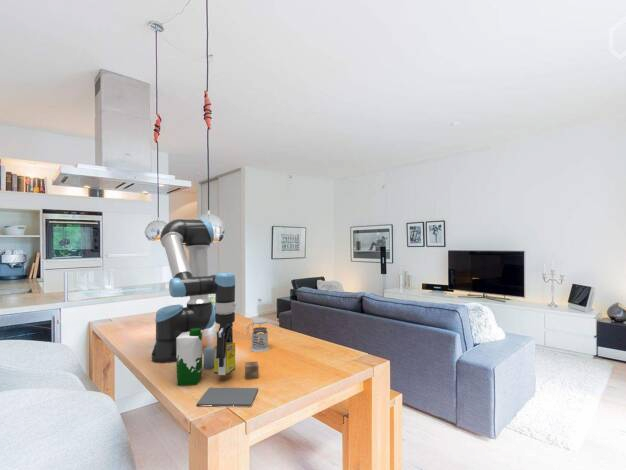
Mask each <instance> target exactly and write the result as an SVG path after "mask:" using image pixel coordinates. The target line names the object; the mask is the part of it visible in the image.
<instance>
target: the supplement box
mask: <svg viewBox="0 0 626 470" xmlns="http://www.w3.org/2000/svg"><path fill="white" fill-rule="evenodd" d="M213 347H214V370H213V372H214V374H216V375H218V358H216V350H217V344H215V345H214V346H213ZM225 357H226V374H225V375H224V376H228V375H230V374H231V373H232V372H234V371H235V370H236V342H233V343H231V342H226V350H225Z"/></svg>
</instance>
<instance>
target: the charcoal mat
mask: <svg viewBox="0 0 626 470" xmlns="http://www.w3.org/2000/svg"><path fill="white" fill-rule="evenodd" d="M258 392H259V388H258V387H208V388H207V389H206V391H205V392H204V394H203V395H202V396H201V397H200V399H199V400H198V401H197V403H196V406H197V405H212V406H211V407H217V406H233V405H234V406H251V405H252V406H253V404H254V401H255V399H256V397H255V396H257V394H258ZM252 403H253V404H252ZM252 406H251V407H252Z"/></svg>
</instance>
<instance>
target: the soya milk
mask: <svg viewBox="0 0 626 470" xmlns="http://www.w3.org/2000/svg"><path fill="white" fill-rule="evenodd" d="M176 342H177V361H176V381H177V383H176V384H177V385H176V386H178V385H179V386H194V385H195V386H197V385H198V384H197V383H199V381H200V380H201V379H202V374H203V373H202V372H203V331H202V330H201V328H192V329H190V332H184V333H181V334H180V335H179V336H178V337H177V338H176ZM196 384H197V385H196Z"/></svg>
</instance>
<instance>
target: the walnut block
mask: <svg viewBox="0 0 626 470" xmlns="http://www.w3.org/2000/svg"><path fill="white" fill-rule="evenodd" d="M244 378H245V380H246V379H247V380H258V379H259V363H258V361H247V362H246V361H245V363H244ZM247 380H246V381H247Z"/></svg>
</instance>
